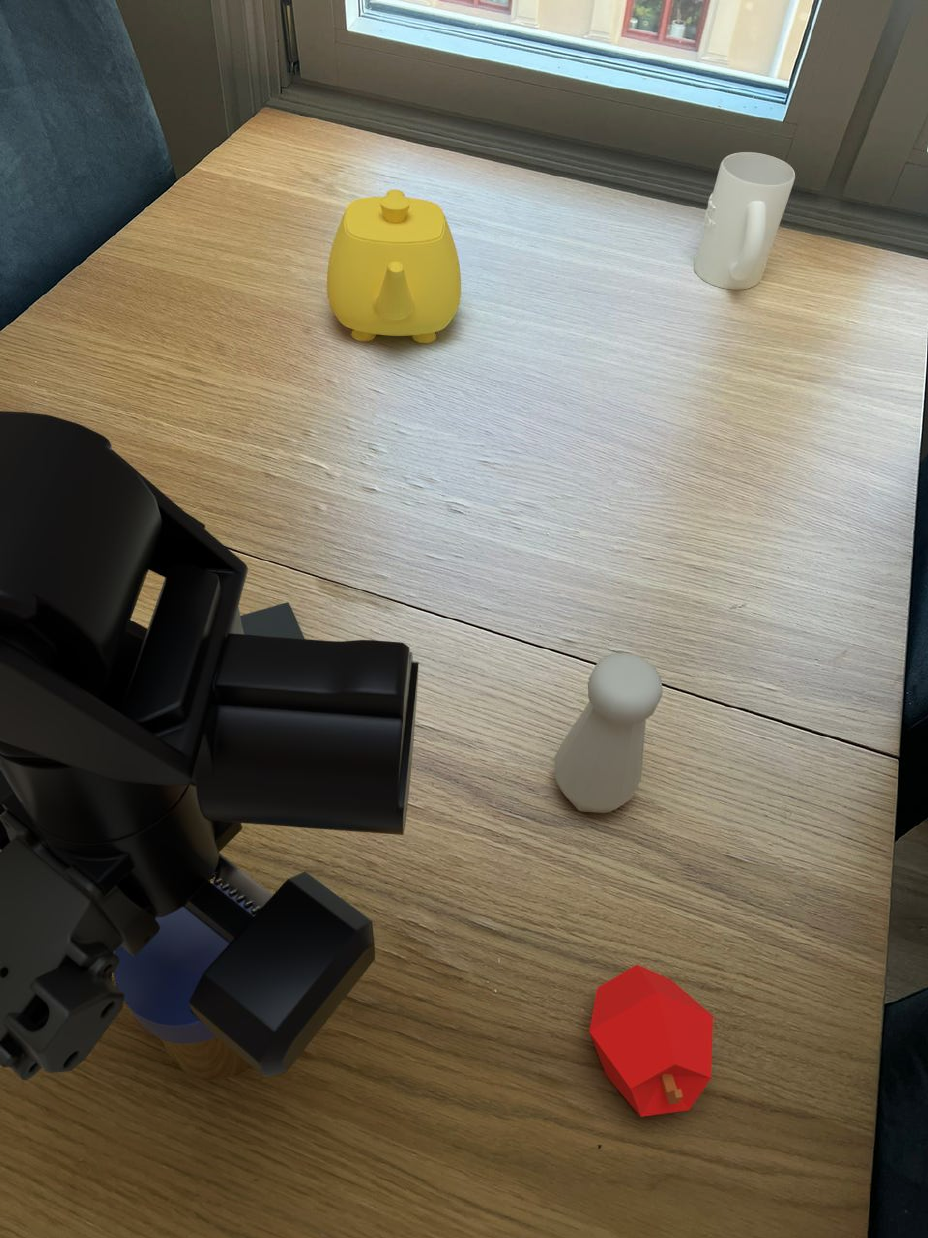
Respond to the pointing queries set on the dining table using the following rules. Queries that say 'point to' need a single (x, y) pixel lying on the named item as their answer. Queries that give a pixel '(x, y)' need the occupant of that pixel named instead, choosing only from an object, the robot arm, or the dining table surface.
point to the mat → (272, 622)
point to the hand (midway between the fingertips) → (185, 940)
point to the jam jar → (206, 1058)
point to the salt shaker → (609, 735)
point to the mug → (743, 219)
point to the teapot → (394, 269)
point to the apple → (652, 1041)
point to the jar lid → (170, 976)
